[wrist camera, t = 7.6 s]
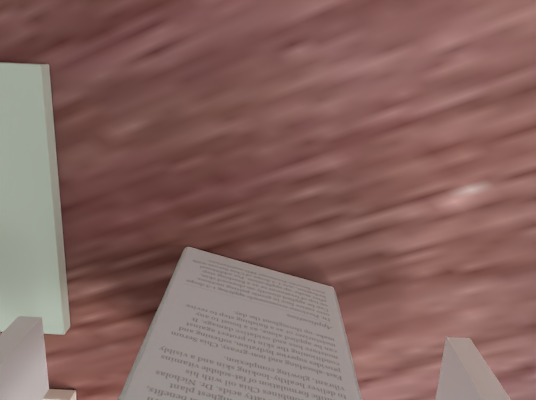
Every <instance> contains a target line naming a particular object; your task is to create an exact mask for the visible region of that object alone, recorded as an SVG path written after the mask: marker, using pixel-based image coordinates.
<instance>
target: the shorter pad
mask: <svg viewBox="0 0 536 400" xmlns="http://www.w3.org/2000/svg"><path fill="white" fill-rule="evenodd" d="M18 316H26V317H42V323H43V332H44V334H61V335H64V334H65V333H66V332H67V330H68V329H69V328H70V314H69V301H68V289H67V277H66V265H65V253H64V240H63V228H62V216H61V204H60V192H59V179H58V167H57V155H56V143H55V131H54V118H53V106H52V94H51V82H50V70H49V64H31V63H10V62H0V332H4V331H5V330H6V328H7V327H8V326H9V325H10V324H11V323H12V322H13V321H14V320H15V319H16V318H17V317H18Z"/></svg>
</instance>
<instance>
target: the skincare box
mask: <svg viewBox="0 0 536 400" xmlns="http://www.w3.org/2000/svg"><path fill="white" fill-rule="evenodd" d="M118 400H362V397H361V393H360V389H359V385H358V381H357V377H356V373H355V369H354V364H353V360H352V356H351V353H350V349H349V344H348V340H347V336H346V332H345V328H344V324H343V320H342V316H341V312H340V308H339V304H338V300H337V296H336V293H335V290H334V288H333V287H331V286H328V285H324V284H320V283H317V282H313V281H310V280H306V279H302V278H299V277H295V276H292V275H288V274H284V273H281V272H277V271H274V270H270V269H267V268H263V267H259V266H256V265H252V264H249V263H245V262H241V261H238V260H234V259H231V258H227V257H224V256H220V255H217V254H213V253H209V252H206V251H203V250H199V249H196V248H192V247H185V249H184V250H183V253H182V255H181V257H180V259H179V261H178V264H177V266H176V268H175V271H174V273H173V275H172V278H171V280H170V282H169V285H168V287H167V289H166V291H165V294H164V296H163V299H162V301H161V303H160V305H159V307H158V309H157V312H156V314H155V316H154V318H153V321H152V323H151V325H150V327H149V330H148V332H147V335H146V337H145V339H144V341H143V343H142V346H141V348H140V350H139V353H138V355H137V357H136V360H135V362H134V364H133V366H132V369H131V371H130V373H129V376H128V378H127V381H126V383H125V385H124V388H123V390H122V392H121V394H120V396H119V398H118Z"/></svg>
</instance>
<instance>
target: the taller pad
mask: <svg viewBox="0 0 536 400" xmlns="http://www.w3.org/2000/svg"><path fill="white" fill-rule="evenodd" d="M42 400H77V399H76V390H61V389H49V390H48V391H47V393H46V394H45V396H44V397H43V399H42Z"/></svg>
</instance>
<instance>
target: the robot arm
mask: <svg viewBox="0 0 536 400" xmlns="http://www.w3.org/2000/svg"><path fill="white" fill-rule="evenodd" d="M48 390H49V382H48V372H47V362H46V352H45V342H44V332H43V323H42V317H26V316H18V317H17V318H16V319H15V320H14V321H13V322H12V323H11V324H10V325H9V326H8V327H7V328H6V330H5V331H4V332H3V333H2V334H1V335H0V400H42V399H43V397H44V396H45V394H46V393H47V391H48ZM435 400H511V399H510V397H509V396H508V394H507V393H506V391H505V390H504V388H503V387H502V385H501V384H500V382H499V381H498V379H497V378H496V376H495V375H494V373H493V372H492V370H491V369H490V368H489V366H488V365H487V363H486V362H485V360H484V359H483V357H482V356H481V354H480V353H479V351H478V350H477V348H476V347H475V345H474V344H473V342H472V341H471V339H470V338H457V337H446V341H445V347H444V353H443V358H442V364H441V370H440V376H439V382H438V387H437V393H436V399H435Z"/></svg>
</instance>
